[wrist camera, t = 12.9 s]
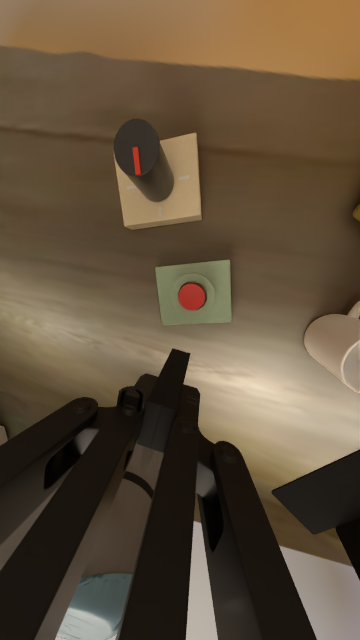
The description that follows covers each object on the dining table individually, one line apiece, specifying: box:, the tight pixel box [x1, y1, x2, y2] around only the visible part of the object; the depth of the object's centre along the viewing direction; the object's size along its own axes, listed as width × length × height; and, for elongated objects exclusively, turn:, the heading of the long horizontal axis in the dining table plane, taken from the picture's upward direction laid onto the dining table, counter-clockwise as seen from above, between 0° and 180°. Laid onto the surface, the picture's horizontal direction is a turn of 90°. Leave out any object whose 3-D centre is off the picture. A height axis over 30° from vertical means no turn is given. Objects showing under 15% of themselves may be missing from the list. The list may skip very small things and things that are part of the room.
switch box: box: [155, 260, 232, 325], centre depth 31 cm, size 12×10×4 cm
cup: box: [304, 301, 360, 394], centre depth 26 cm, size 8×12×10 cm
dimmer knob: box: [114, 119, 174, 202], centre depth 23 cm, size 5×5×8 cm
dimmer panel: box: [113, 133, 202, 230], centre depth 29 cm, size 12×10×3 cm
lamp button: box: [178, 283, 205, 310], centre depth 29 cm, size 4×4×2 cm
